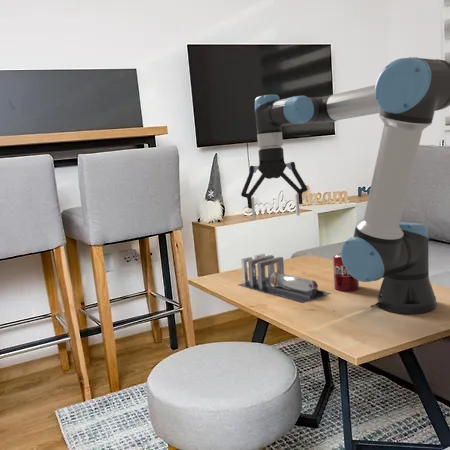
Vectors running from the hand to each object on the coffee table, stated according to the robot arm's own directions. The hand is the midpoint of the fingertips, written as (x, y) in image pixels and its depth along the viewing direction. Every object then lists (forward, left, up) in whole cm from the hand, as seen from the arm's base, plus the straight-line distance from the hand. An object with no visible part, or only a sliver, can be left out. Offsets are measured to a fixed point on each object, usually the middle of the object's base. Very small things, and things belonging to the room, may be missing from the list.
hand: (276, 217), depth 158 cm
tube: (-6, 0, -23) cm, 23 cm away
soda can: (-16, -13, -24) cm, 32 cm away
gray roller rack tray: (-1, 0, -24) cm, 24 cm away
